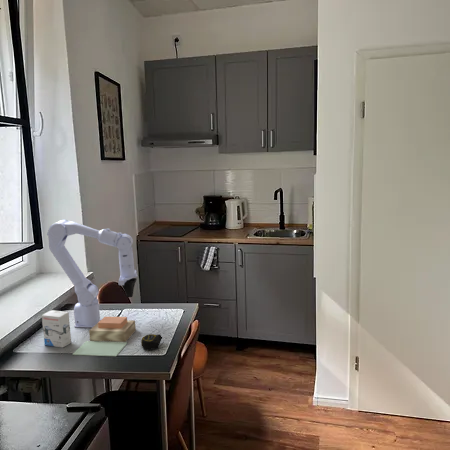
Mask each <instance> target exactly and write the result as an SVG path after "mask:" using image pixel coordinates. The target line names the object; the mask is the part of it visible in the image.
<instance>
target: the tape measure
mask: <svg viewBox="0 0 450 450" xmlns="http://www.w3.org/2000/svg"><path fill="white" fill-rule="evenodd" d="M162 339H163V336H162V335H161V334H153V333H150V334H146V335H144V336H143V337H142V338H141V340H140V343H141V344H140V346H141V347H142V348H143V349H144V350H147V351H150V350H151V351H152V350H157V349H159V348H160V344H161V342H162Z"/></svg>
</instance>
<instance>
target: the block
mask: <svg viewBox="0 0 450 450" xmlns="http://www.w3.org/2000/svg"><path fill="white" fill-rule="evenodd" d="M101 319H102V320H101V321H99V322H98V328H122V327H123V326H124V325H125V324H126V323H127V320H128V316H104V317H103V318H101Z"/></svg>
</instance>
